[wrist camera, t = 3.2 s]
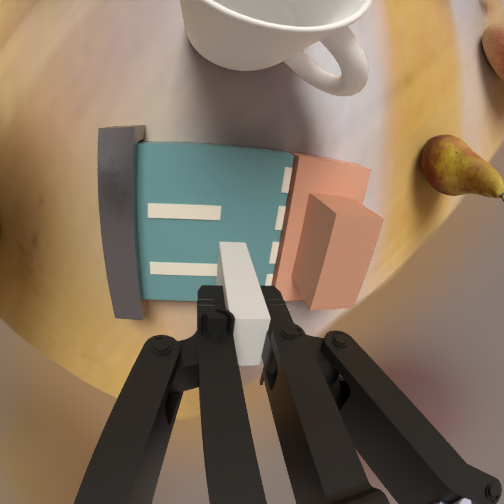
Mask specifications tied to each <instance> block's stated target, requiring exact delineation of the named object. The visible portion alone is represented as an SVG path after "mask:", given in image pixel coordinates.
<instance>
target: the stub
mask: <svg viewBox="0 0 504 504" xmlns="http://www.w3.org/2000/svg"><path fill="white" fill-rule="evenodd" d="M290 154H293V155H294V158H293V165H292V174H291V180H290V186H289V191H288V194H287V200H286V209H285V214H284V220H283V226H282V230H281V234H280V239H279V247H278V253H277V258H276V263H275V266H274V271H273V279H272V284H271V286H275V287H276V288H277V289H278V290H279V291H280V292H281V294H282V297H283V300H284V301H300V300H305V302H306V304H307V306H308V308H309V310H327V309H342V308H353V307H354V305H355V302H356V299H357V297H358V294H359V292H360V289H361V286H362V284H363V281H364V278H365V275H366V273H367V270H368V267H369V264H370V261H371V258H372V255H373V252H374V249H375V246H376V243H377V240H378V236H379V233H380V230H381V226H382V223H383V218H381V217H380V216H378V215H377V214H375V213H374V212H372V211H371V210H369V209H368V208H366V207H365V206H363V201H364V197H365V193H366V189H367V184H368V180H369V175H370V171H371V169H368V168H366V167H363V166H361V165H358V164H354V163H349V162H344V161H339V160H334V159H329V158H323V157H318V156H312V155H306V154H300V153H293V152H291V153H290Z"/></svg>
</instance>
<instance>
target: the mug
mask: <svg viewBox="0 0 504 504" xmlns="http://www.w3.org/2000/svg"><path fill="white" fill-rule="evenodd" d="M372 2H373V0H180V3H181V9H182V15H183V20H184V26H185V31H186V33H187V36H188V39H189V40H190V42H191V44H192V46H193V47H194V48H195V50H196V51H197V52H198V53H199V54H200V55H202V56H203V57H204V58H206V59H207V60H209V61H210V62H212V63H214V64H216V65H218V66H221V67H224V68H227V69H232V70H238V71H254V70H261V69H265V68H269V67H271V66H274V65H277V64H279V63H281V62H284V63H286V64H287V65H288V66H289V67H290V68H291V69H292V70H293V71H294V72H295V73H296V74H298V75H299V76H300V77H301V78H302V79H304V80H305V81H306V82H308V83H309V84H311V85H312V86H314V87H316V88H318V89H320V90H322V91H324V92H326V93H329V94H332V95H336V96H351V95H354V94H356V93H358V92H360V91H361V90H362V89H363V87H364V86H365V84H366V82H367V79H368V64H367V60H366V57H365V54H364V52H363V50H362V48H361V46H360V44H359V42H358V40H357V39H356V37H355V36H354V34H353V33H352V31H351V30H350V29H349V27H348V25H351V24H353V23H354V22H356V21H357V20H359V19H360V18H361V17H362V16H363V15H364V14H365V13H366V12H367V11H368V9H369V8H370V6H371V4H372ZM317 41H321V42H322V44H323V45H324V46H325V47H326V48H327V49H328V50H329V51H330V52H331V54H332V55H333V56H334V58H335V59H336V61H337V62H338V64H339V66H340V68H341V72H342V75H341V76H337V75H332V74H329V73H327V72H326V71H324V70H322V69H321V68H319V67H318V66H317V65H316V64H314V63H313V62H312V61H311V60H310V59H309V58H308V57H307V56H306V55H305V54H304V53H303V51H302V50H303V49H305V48H307V47H308V46H310V45H312V44H314V43H315V42H317Z"/></svg>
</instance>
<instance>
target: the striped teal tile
mask: <svg viewBox="0 0 504 504" xmlns="http://www.w3.org/2000/svg"><path fill="white" fill-rule="evenodd" d="M293 158H294V155H293V154H290V153H288V152H286V151H279V150H271V149H263V148H255V147H245V146H234V145H222V144H208V143H189V142H138V154H137V225H138V244H139V259H140V271H141V281H142V291H143V299H151V300H178V301H197V293H198V290H199V288H200V287H201V286H202V285H217V284H216V279H217V265H218V252H219V241H220V242H243V243H246V246H247V249H248V252H249V255H250V258H251V261H252V264H253V267H254V270H255V273H256V276H257V279H258V282H259V285H261V286H271V284H272V279H273V271H274V266H275V263H276V258H277V253H278V247H279V239H280V234H281V230H282V226H283V220H284V214H285V209H286V200H287V194H288V191H289V186H290V180H291V174H292V165H293Z"/></svg>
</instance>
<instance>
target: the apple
mask: <svg viewBox="0 0 504 504" xmlns="http://www.w3.org/2000/svg"><path fill="white" fill-rule="evenodd" d="M482 45H483V49H484V52H485V55H486V57H487V59H488V61H489V63H490V64H491V66H492V68H493V69H494V71H495V72H496V73H497V75H498V76H499V77H500V78H501V79H502V80H503V81H504V23H495V24H492V25H490V26H488V27H487V28H486V30H485V31H484V33H483V36H482Z"/></svg>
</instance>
